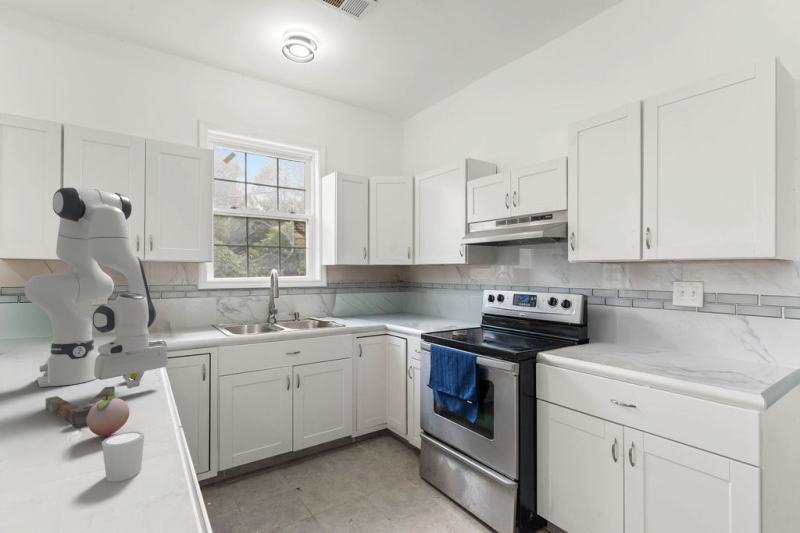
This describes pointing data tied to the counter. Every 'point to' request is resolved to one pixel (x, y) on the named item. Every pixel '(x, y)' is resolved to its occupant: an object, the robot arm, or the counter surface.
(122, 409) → the decorative fruit
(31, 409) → the counter surface
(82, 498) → the counter surface
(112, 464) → the shot glass
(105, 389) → the tongs arm
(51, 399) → the tongs base
